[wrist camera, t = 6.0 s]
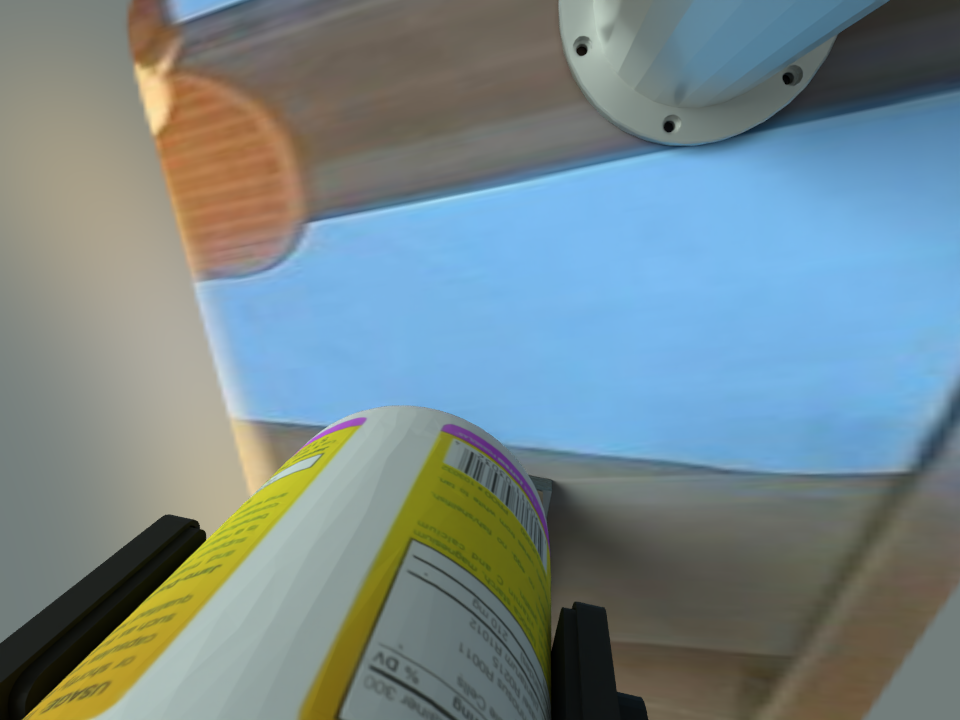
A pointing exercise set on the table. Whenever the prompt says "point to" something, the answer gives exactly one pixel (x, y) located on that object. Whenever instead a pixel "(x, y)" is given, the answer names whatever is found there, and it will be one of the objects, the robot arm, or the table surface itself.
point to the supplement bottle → (348, 592)
